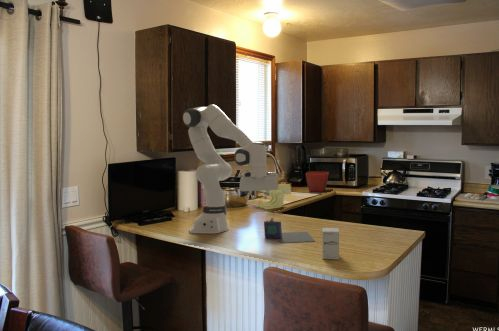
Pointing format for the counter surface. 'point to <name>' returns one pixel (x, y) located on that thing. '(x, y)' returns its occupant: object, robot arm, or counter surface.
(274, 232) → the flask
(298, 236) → the mat
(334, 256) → the supplement box
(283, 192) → the slatted curved stool
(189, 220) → the counter surface
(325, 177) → the plant pot
